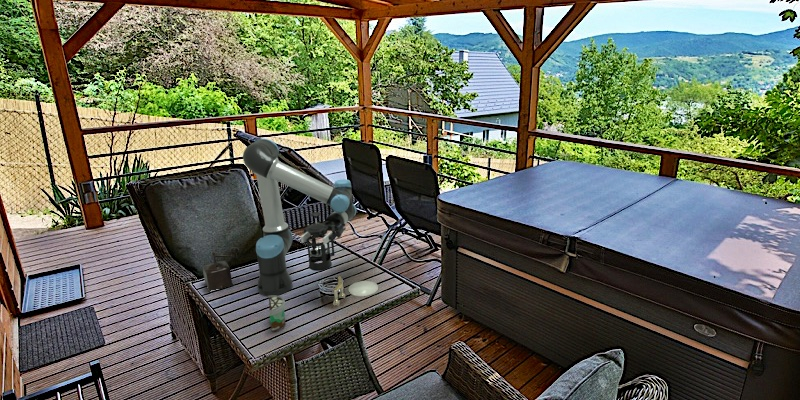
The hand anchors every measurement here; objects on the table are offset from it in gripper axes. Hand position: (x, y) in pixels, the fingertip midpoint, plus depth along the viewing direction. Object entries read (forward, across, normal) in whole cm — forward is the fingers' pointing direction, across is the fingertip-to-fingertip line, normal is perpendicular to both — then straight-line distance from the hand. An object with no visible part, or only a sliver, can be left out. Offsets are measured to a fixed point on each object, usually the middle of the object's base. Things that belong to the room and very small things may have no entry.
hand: (313, 240), depth 177 cm
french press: (-5, 0, -13) cm, 14 cm away
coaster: (-17, -13, -29) cm, 36 cm away
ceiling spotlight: (-8, -5, -29) cm, 31 cm away
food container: (+16, +9, -29) cm, 35 cm away
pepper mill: (-7, +52, -29) cm, 60 cm away
